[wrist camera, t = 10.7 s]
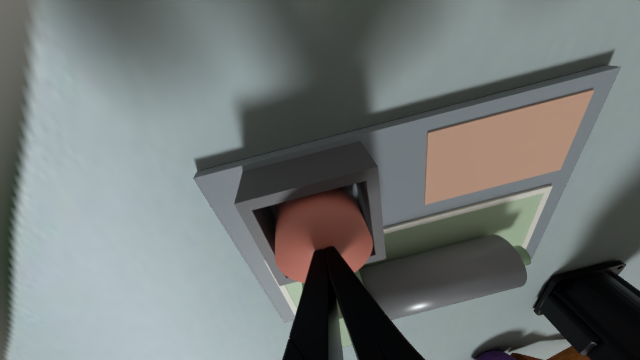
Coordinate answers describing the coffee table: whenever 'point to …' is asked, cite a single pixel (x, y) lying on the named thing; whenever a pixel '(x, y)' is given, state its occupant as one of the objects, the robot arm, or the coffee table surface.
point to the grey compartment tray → (421, 176)
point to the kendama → (569, 356)
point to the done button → (320, 231)
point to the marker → (443, 277)
